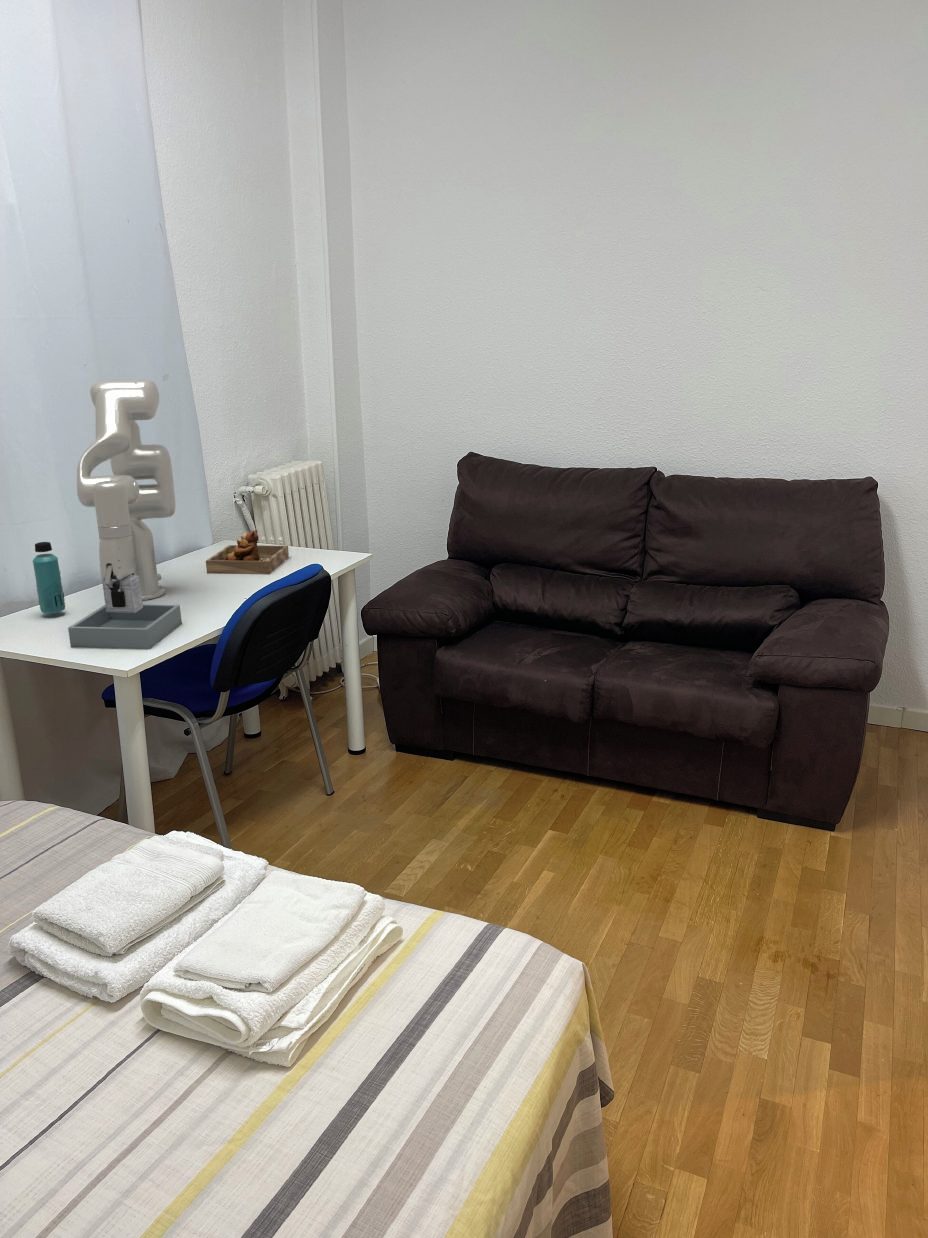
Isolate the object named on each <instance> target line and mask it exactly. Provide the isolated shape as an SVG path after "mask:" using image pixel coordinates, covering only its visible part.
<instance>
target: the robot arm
mask: <svg viewBox="0 0 928 1238" xmlns="http://www.w3.org/2000/svg"><path fill="white" fill-rule="evenodd" d="M89 392H90V398H91V401H92V405H93V406H94V408H95V415H94V416H95V440H94V441H93V442H92V443H90V445H89V446H88V447H87V448H86V449H85V450H84V452H83V453H82V455H81V456H80V459H79V460H78V463H77V468H76V493H77V497H78V501H79V502H80V504H81V505H82V506H84V507H86V508H94V510H95V515H96V524H97V532H98V538H99V543H98V544H99V545H98V547H99V549H98V550H99V551H98V552H99V553H98V554H99V555H98V556H99V568H100V578H101V580H102V579H103V580H105V585H107V586H108V588H109V591H110V592H111V599H112V606H113V607H125V606H126V604H125V596H124V591H122V579H123V578H125V577H127V576H129V575H138V576H139V579H140V587H141V594H142V601H147V600H152V599H156V598H160V597H162V596H164V594H165V593H166V590H165V587H163V586H161V585H159V581H160V580H162V578H163V577H162V575H161V574H160V573H158V571H157V562H156V561H157V559H156V553H155V551H156V550H155V543H154V537H153V536H154V535H153V532H152V530H151V529H150V527H149V526H148V525H146V523H145V522H143V520H147V519H149V520H150V519H151V520H153V519H166V518H170V517H172V516H174V514H175V512H176V494H175V487H174V486H175V485H174V478H173V477H174V476H173V465H172V458H171V456H170V452H169V450H168V449H167V447H166V446H164V445H162V444H158V443H157V444H155V443H154V444H143V443H142V442H141V429H140V427H139V426H140V425H138V423H137V422H136V421H149V420H152V419H154V418H155V416H156V414H157V411H158V409H159V408H158V407H159V403H160V395H159V394H160V393H159V392H160V391H159V389H158V386H157V384H156V383H155V382H154V381H152V380H150V379H129V380H128V379H121V380H120V379H117V380H102V381H98V382H95V383H93V384H92V385H91V387H90V390H89ZM108 460H109V461H110V466H111V472H112V474H113V475H96V476H94V475H93V476H92V475H91V474H92V473H93V471H94V469H96V468H97V467H98V466H99V465H101V464H102V463H104V462H106V461H108ZM139 480H140V481H142V480H143V481H144V480H154V481H155V482H156V483H152V484H151V483H149V484H139V483H138V482H137V481H139ZM113 577H117V578H116V579H113ZM114 582H118V585H117V584H116V583H114Z"/></svg>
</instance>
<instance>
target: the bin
mask: <svg viewBox="0 0 928 1238" xmlns="http://www.w3.org/2000/svg"><path fill="white" fill-rule="evenodd" d="M182 622H183V621H182V613H181V605H180V604H144V603H143V608H142V609H141V610H139V611H137V612H136V613H128V612H106V606H105V604H104V605H102V606H101V607H99V608H98V609H96V610H94V611H93V612H91V613H89V614H88V615H86V616H84V617H83V618H82V619H79V620H78V621H77V622H75V623H73V624H71V625H70V626H68V627H67V631H68V637H69V644H70V648H79V649H80V648H81V649H84V648H85V649H87V648H89V649H123V650H124V649H127V650H129V649H130V650H131V649H133V650H151V649H152V648H153V647H155V645H156V644H158V643H159V642H161V640H163V639H164V638H165V637H167V636H168V635H170V634H171V633H172V632H173V631H174V630H176V629H177V628H178V627H179V626H181V625H182V624H183V623H182Z"/></svg>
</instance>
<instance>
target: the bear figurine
mask: <svg viewBox="0 0 928 1238" xmlns="http://www.w3.org/2000/svg"><path fill="white" fill-rule="evenodd" d="M258 541H259V534H258V529H255V530H251V531H248V532H245V533H243V534H241V535H240V540H239V539H237V540H236V543H237V544H236V545H237V546H236V548H234V552H232V553H229V554H228V555H227V556H226V557H225V558H224V560H236V561H267V560H268V559H269V558H266V557H259V553H258V547H257V545H258Z"/></svg>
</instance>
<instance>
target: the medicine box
mask: <svg viewBox="0 0 928 1238" xmlns="http://www.w3.org/2000/svg"><path fill="white" fill-rule="evenodd" d="M116 578H117V577H113V579H116ZM101 582H102V583H101V584H102V590H103V597H104V605H105V606H106V612H128V613H136V612H137V611H139V610H141V609H142V608H143V604H144V603H143V601H144V600H142V594H141V587H140V579H139V576H138V575H129V576H127V577H125V578H123V579H122V591H124V596H125V604H126V606H125V607H113V606H112V599H111V592H110V591H109V588H108V586H107V585H105V580H103V579H102V578H101ZM114 583H116V584H117V585H118V582H114Z"/></svg>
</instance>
